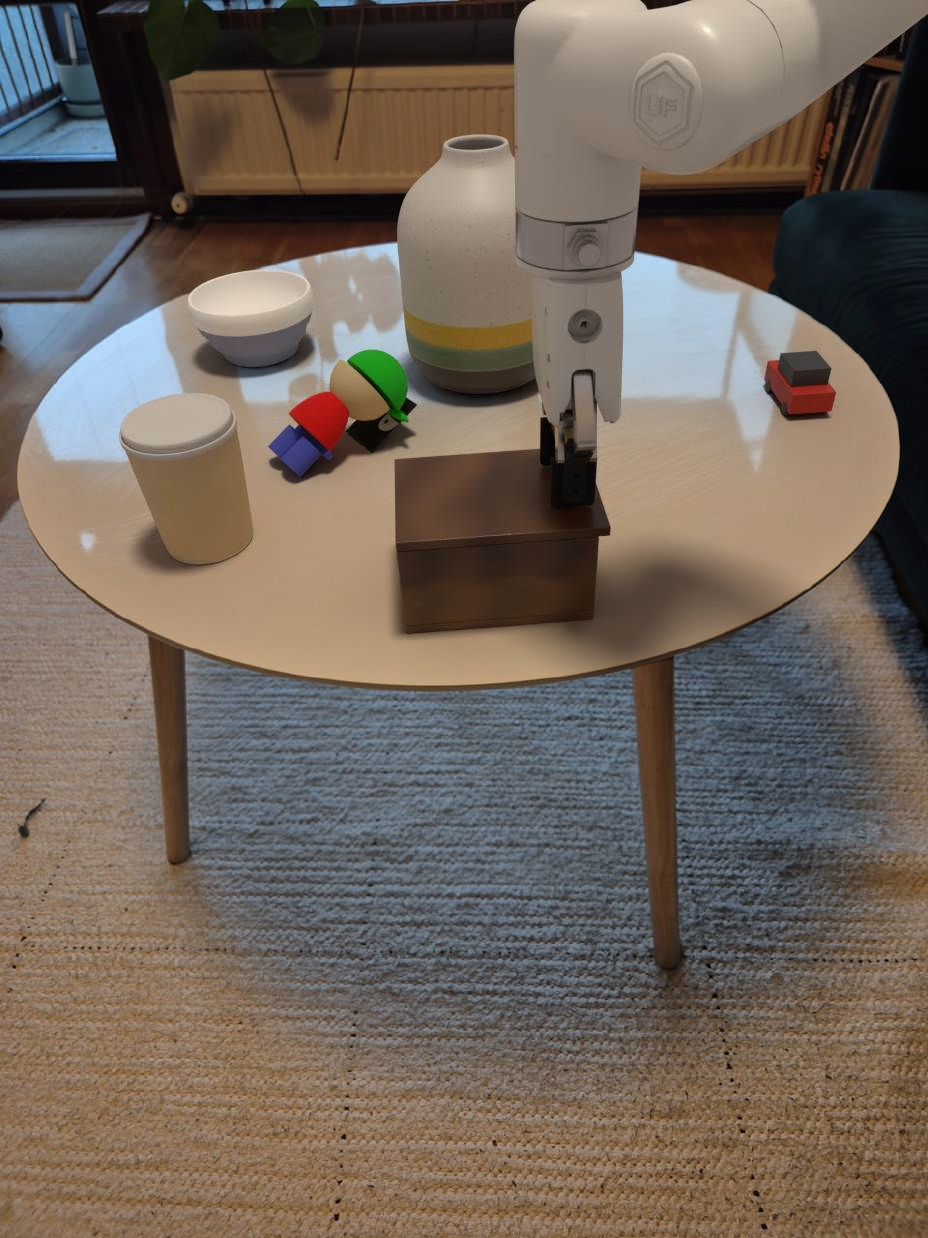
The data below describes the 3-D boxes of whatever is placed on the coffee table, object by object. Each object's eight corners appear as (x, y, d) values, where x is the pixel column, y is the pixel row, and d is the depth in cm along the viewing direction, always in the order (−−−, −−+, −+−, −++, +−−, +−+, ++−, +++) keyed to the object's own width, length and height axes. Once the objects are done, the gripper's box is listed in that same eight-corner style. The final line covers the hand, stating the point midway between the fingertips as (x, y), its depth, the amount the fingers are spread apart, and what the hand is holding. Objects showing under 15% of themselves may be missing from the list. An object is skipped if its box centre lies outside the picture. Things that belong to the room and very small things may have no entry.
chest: (570, 532, 78) (573, 454, 73) (593, 619, 69) (599, 537, 64) (403, 545, 77) (395, 467, 72) (406, 633, 69) (396, 552, 63)
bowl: (218, 330, 115) (204, 270, 110) (329, 327, 114) (320, 267, 109) (187, 381, 104) (170, 318, 99) (310, 378, 103) (299, 314, 98)
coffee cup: (218, 498, 84) (187, 380, 76) (284, 532, 80) (258, 410, 72) (135, 545, 79) (92, 424, 71) (200, 584, 74) (162, 459, 66)
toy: (333, 509, 88) (437, 400, 88) (285, 463, 82) (396, 346, 82) (296, 473, 94) (394, 370, 94) (248, 427, 88) (352, 318, 88)
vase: (516, 332, 110) (516, 113, 94) (583, 387, 98) (595, 148, 82) (388, 360, 105) (365, 136, 90) (442, 422, 94) (426, 175, 78)
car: (831, 417, 91) (842, 374, 88) (786, 420, 91) (796, 378, 88) (803, 382, 97) (812, 341, 94) (761, 385, 97) (769, 344, 94)
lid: (583, 453, 73) (586, 390, 69) (610, 536, 64) (615, 468, 60) (395, 467, 72) (388, 404, 69) (396, 552, 63) (388, 485, 60)
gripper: (667, 280, 49) (639, 546, 61) (609, 191, 62) (595, 425, 74) (532, 290, 49) (530, 554, 61) (502, 199, 62) (505, 431, 74)
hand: (566, 481), depth 67 cm, fingers closed on lid, 5 cm apart
